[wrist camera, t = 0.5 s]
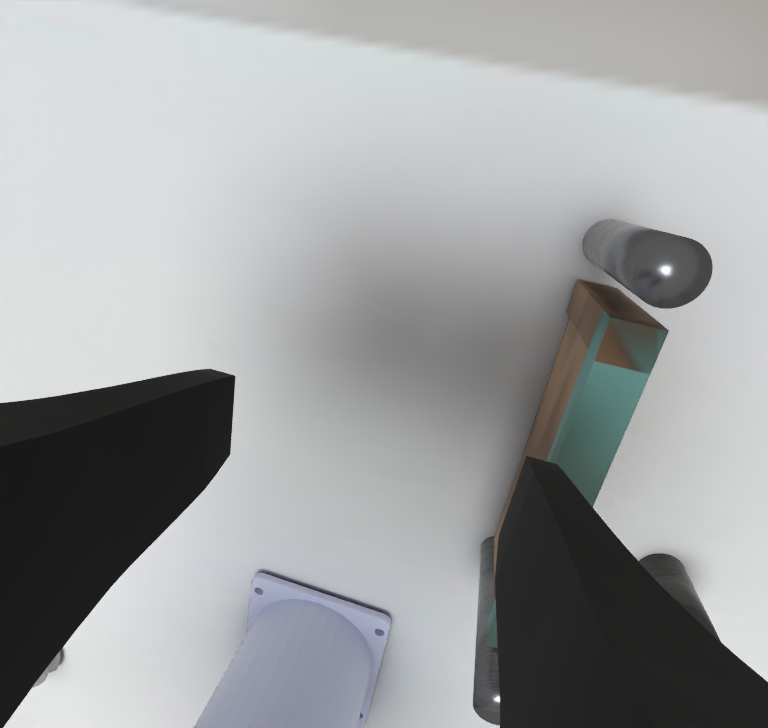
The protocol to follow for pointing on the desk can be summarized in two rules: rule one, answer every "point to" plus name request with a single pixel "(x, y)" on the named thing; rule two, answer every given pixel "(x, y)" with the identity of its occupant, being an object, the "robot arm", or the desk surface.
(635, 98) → the desk surface
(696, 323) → the desk surface
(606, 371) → the open box
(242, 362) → the desk surface
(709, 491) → the desk surface
